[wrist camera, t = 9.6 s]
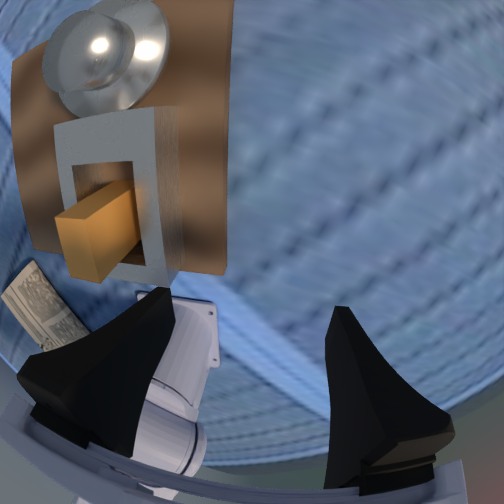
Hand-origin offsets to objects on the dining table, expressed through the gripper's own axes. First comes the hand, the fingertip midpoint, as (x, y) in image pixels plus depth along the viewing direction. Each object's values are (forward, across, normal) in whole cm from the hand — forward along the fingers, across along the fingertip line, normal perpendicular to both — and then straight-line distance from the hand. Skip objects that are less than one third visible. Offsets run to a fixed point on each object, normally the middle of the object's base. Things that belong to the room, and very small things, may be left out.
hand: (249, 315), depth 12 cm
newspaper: (+11, +27, +27) cm, 40 cm away
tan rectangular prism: (+8, +10, -1) cm, 13 cm away
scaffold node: (+8, +10, -7) cm, 15 cm away
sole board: (+10, +14, -6) cm, 18 cm away
